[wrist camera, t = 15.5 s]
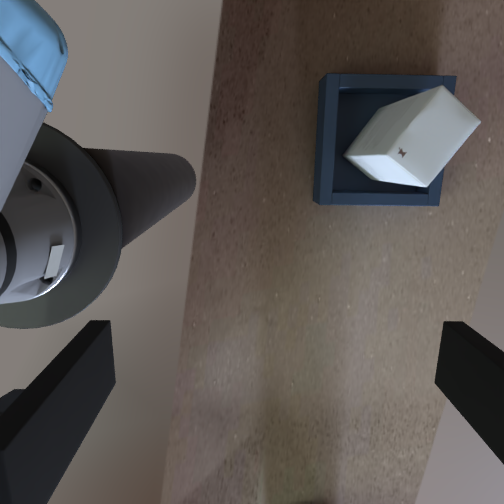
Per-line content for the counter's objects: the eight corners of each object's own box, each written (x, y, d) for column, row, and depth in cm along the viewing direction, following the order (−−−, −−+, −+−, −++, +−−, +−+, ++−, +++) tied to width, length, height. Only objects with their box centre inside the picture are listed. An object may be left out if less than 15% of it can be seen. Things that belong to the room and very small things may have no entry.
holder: (312, 200, 40) (319, 205, 36) (319, 81, 37) (326, 73, 34) (422, 202, 40) (439, 206, 37) (437, 83, 37) (456, 75, 34)
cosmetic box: (371, 181, 39) (425, 190, 27) (340, 155, 38) (382, 154, 27) (411, 132, 38) (484, 121, 26) (379, 105, 37) (441, 81, 26)
